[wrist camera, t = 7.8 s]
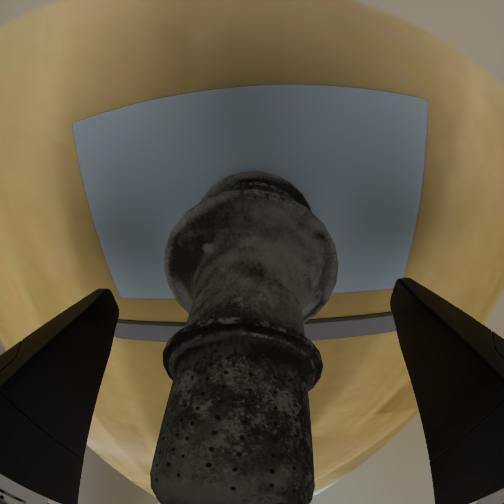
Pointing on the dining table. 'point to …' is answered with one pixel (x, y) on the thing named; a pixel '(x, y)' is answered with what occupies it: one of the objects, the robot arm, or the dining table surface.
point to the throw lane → (264, 160)
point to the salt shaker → (243, 346)
